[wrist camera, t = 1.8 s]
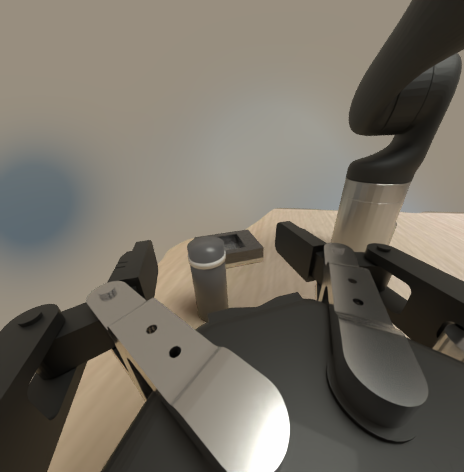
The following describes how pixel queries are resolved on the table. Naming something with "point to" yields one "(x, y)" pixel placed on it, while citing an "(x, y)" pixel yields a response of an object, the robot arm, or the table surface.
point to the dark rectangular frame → (240, 248)
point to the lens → (208, 274)
